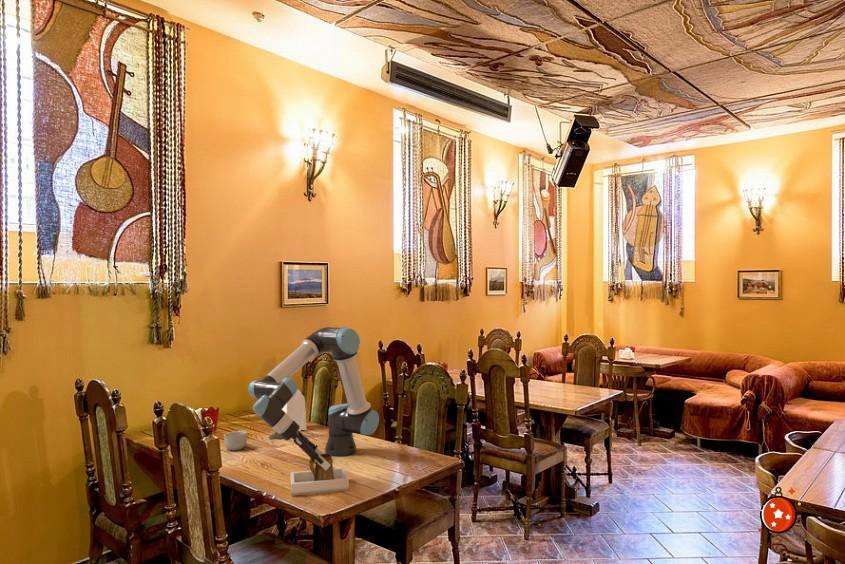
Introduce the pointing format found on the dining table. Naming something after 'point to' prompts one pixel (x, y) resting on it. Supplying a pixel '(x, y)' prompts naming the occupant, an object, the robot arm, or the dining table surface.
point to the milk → (297, 409)
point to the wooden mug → (322, 469)
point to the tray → (318, 483)
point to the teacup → (235, 440)
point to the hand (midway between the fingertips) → (327, 464)
